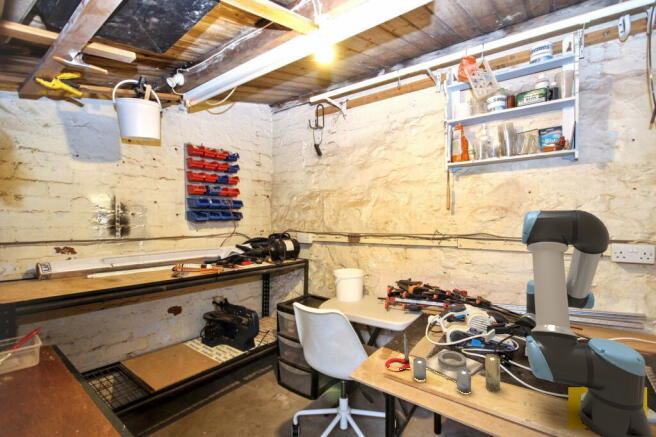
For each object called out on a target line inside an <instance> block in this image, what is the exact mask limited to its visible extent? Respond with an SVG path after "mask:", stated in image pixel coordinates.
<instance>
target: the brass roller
mask: <svg viewBox="0 0 656 437" xmlns="http://www.w3.org/2000/svg"><path fill="white" fill-rule="evenodd" d="M484 356H485V357H484V360H485V367H484V368H485V388H487V389H486V390H488V389H489V390H491V391H490V392H492V391H494V392H493V393H499V392H500V391H501V357H500V356H499V355H497V354H493V353H487V354H485V355H484ZM489 390H488V391H489ZM498 391H499V392H498Z"/></svg>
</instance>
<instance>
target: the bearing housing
mask: <svg viewBox="0 0 656 437" xmlns="http://www.w3.org/2000/svg"><path fill="white" fill-rule="evenodd" d="M459 367H464V368H468V369H469V370H470V371H471V376H474V375H475V374H476V373H478V372H479V371H480V370H481V369H482V368H484V363H481V362H479V361H477V360H474V359H471V358H468V357H466V356H465V355H464V354H462V353H460V352H457V351H454V350H449V349H445V348H443V349H442V350H440V351H439V352H438V353H436V354H434V355H432V356H430V358H429V359H427V360H426V368H428V369H430V370H432V371H435V372H437V373H439V374H441V375H444V376H445V377H448V378H450V379H451V380H454V381H456V382H457V369H458V368H459ZM428 369H427V370H428ZM430 370H429V371H430ZM432 371H431V372H432ZM439 374H438V375H439ZM441 375H440V376H441ZM445 377H444V378H445ZM451 380H450V381H451ZM454 381H453V382H454ZM456 382H455V383H456Z"/></svg>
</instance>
